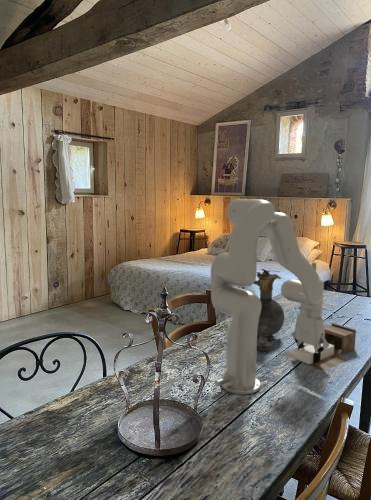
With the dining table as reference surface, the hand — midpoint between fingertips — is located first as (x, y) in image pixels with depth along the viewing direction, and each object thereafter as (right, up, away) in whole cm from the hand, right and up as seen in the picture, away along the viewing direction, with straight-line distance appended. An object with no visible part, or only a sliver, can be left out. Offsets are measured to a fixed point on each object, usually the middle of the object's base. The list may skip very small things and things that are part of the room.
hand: (308, 358), depth 150 cm
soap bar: (+3, 0, +2) cm, 4 cm away
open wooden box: (+7, 0, +6) cm, 9 cm away
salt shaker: (-15, 0, +9) cm, 18 cm away
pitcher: (-13, +3, +25) cm, 28 cm away
